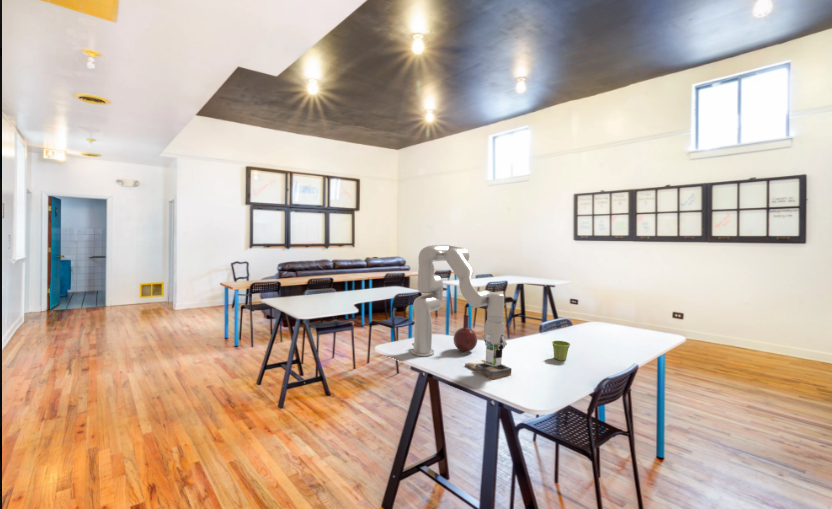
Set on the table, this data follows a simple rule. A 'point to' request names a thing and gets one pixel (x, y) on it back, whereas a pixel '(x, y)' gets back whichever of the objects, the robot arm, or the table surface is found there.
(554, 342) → the plant pot
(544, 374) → the table surface
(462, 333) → the round-bottom flask
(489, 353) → the syrup box
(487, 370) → the brown compartment tray
